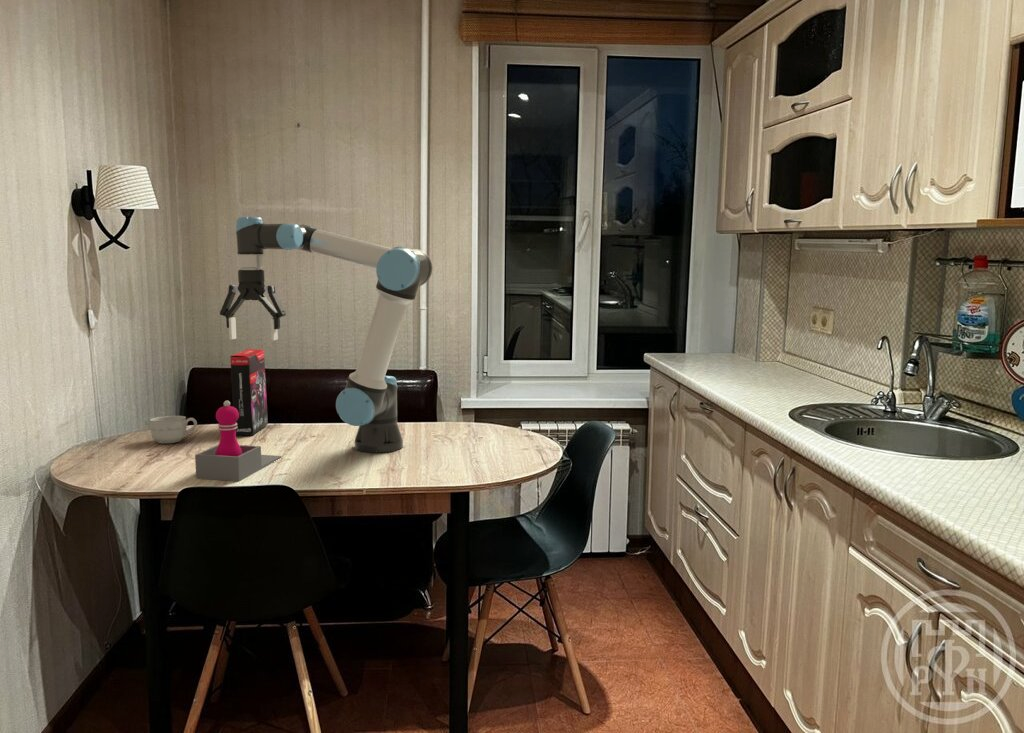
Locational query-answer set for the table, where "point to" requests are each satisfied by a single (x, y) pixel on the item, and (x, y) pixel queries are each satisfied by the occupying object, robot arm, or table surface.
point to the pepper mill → (228, 431)
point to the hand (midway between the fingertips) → (253, 339)
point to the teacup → (170, 428)
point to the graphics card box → (249, 391)
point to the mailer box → (231, 463)
